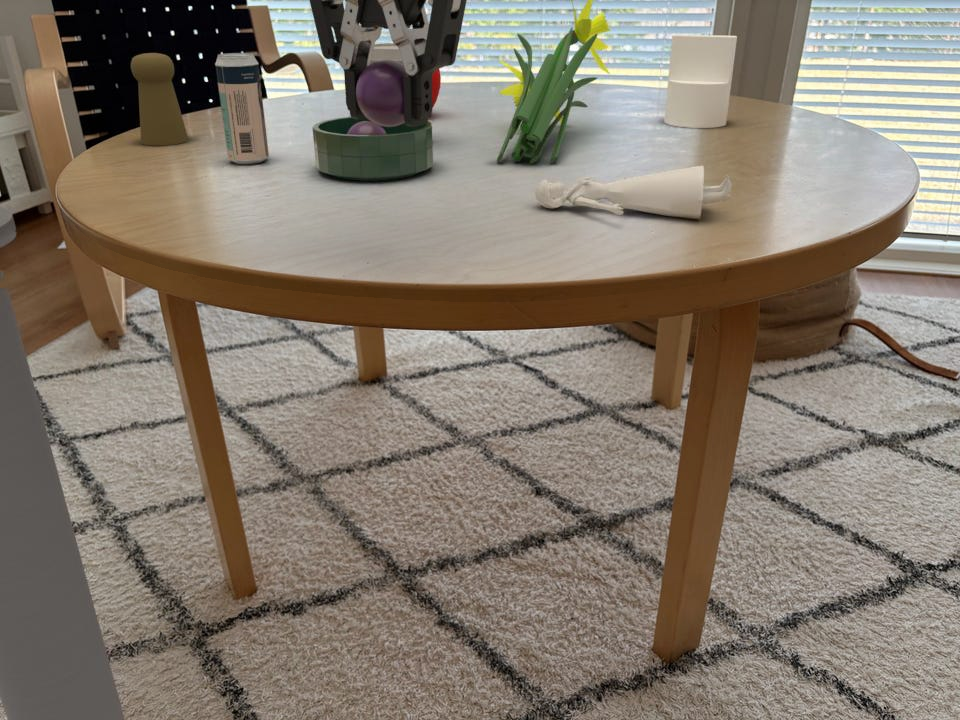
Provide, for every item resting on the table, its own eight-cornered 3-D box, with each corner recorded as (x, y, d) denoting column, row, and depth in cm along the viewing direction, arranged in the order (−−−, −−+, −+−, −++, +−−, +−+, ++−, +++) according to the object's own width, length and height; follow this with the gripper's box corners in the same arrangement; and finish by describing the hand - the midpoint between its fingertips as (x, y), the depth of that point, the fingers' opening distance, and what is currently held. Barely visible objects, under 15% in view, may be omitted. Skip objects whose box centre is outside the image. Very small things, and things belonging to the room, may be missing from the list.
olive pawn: (197, 138, 111) (184, 51, 106) (170, 146, 105) (155, 56, 101) (159, 135, 112) (145, 50, 107) (131, 144, 107) (114, 55, 102)
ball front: (365, 133, 62) (362, 64, 60) (351, 122, 66) (347, 57, 64) (428, 129, 64) (427, 62, 61) (410, 119, 68) (408, 56, 66)
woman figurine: (737, 181, 68) (525, 185, 72) (733, 232, 70) (527, 234, 74) (727, 152, 79) (542, 158, 82) (724, 198, 81) (543, 201, 84)
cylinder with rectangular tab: (659, 125, 119) (667, 37, 113) (669, 116, 126) (677, 32, 121) (722, 129, 116) (734, 39, 110) (729, 119, 123) (739, 34, 118)
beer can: (277, 159, 98) (266, 53, 93) (248, 167, 94) (235, 57, 89) (249, 155, 100) (236, 51, 95) (219, 162, 97) (204, 55, 92)
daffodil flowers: (434, 166, 98) (499, 57, 124) (537, 229, 101) (580, 109, 126) (501, 49, 87) (557, -45, 112) (615, 123, 89) (644, 15, 115)
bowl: (330, 187, 86) (326, 139, 83) (307, 162, 97) (303, 119, 94) (448, 177, 90) (447, 130, 88) (414, 154, 101) (412, 112, 99)
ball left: (351, 173, 89) (348, 126, 87) (341, 164, 93) (338, 119, 91) (396, 169, 91) (394, 123, 88) (384, 160, 95) (382, 116, 93)
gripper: (267, -127, 58) (289, 118, 65) (430, -138, 51) (434, 139, 58) (339, -119, 64) (351, 107, 71) (494, -127, 57) (490, 124, 64)
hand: (389, 120), depth 65 cm, fingers closed on ball front, 5 cm apart
